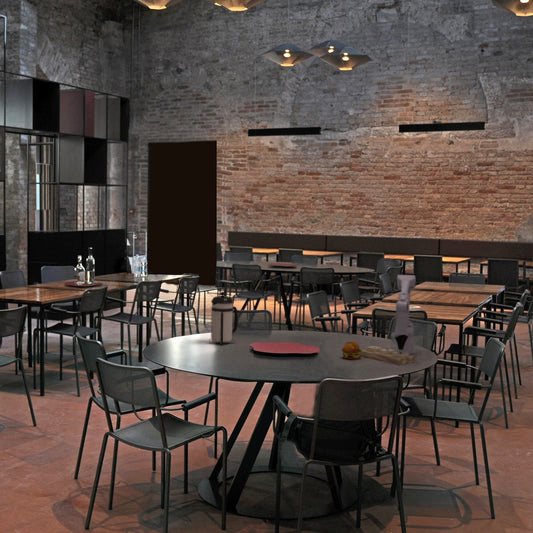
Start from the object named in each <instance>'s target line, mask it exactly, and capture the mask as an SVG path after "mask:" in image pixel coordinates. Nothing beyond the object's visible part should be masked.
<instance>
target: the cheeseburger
mask: <svg viewBox="0 0 533 533" xmlns="http://www.w3.org/2000/svg"><path fill="white" fill-rule="evenodd" d="M362 350H363V349H361V348H360V345H359V344H358V343H357V342H356V341H348V342H346V343H344V345H343V347H342V349H341V352H342V356H343V358H345V359H348V360H358V359H361V357H362V356H361V351H362Z"/></svg>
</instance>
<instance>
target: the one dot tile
mask: <svg viewBox="0 0 533 533" xmlns="http://www.w3.org/2000/svg"><path fill="white" fill-rule="evenodd" d="M366 349H367V350H368V351H372V352H379V350H381V349H383V347H381V346H377V345H372V346H367V347H366Z"/></svg>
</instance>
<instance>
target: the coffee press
mask: <svg viewBox="0 0 533 533" xmlns="http://www.w3.org/2000/svg"><path fill="white" fill-rule="evenodd" d="M233 304H234V300H233V298H232V297H230V296H227V295H225V292H224V291H221V292H220V295H217V296H214V297H213V298H212V300H211V307H210V308H211V314H210V315H211V317H210V318H211V319H210V320H211V321H210V322H211V330H210V339H209V340H208V344H211V343H213V342H215V343H219V344H220V346H223V345H224V344H223V343H228V342H230V343H231V344H233V342H235V340H234V339H233V334H234V333H236V331H237V330H238V323H239V322H238V319H239V314H238V309H237V307H236V306H233ZM233 318H234V319H233ZM233 321H234V322H233ZM233 323H234V324H233Z"/></svg>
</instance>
